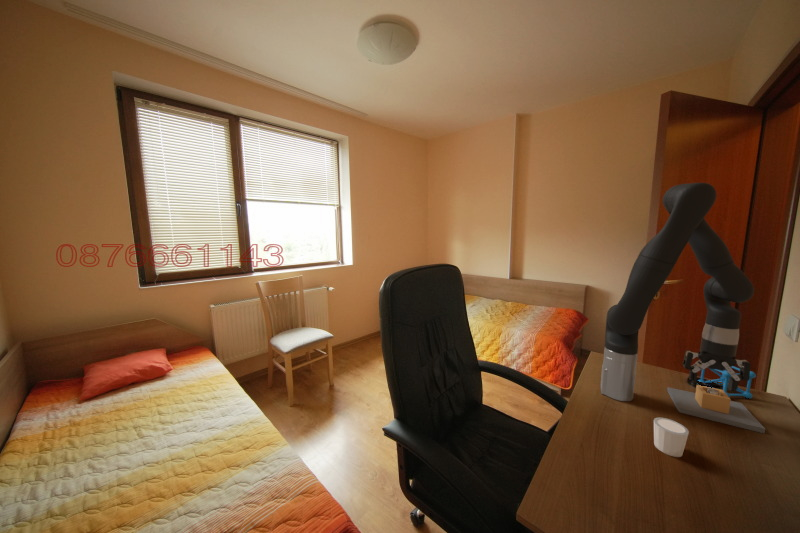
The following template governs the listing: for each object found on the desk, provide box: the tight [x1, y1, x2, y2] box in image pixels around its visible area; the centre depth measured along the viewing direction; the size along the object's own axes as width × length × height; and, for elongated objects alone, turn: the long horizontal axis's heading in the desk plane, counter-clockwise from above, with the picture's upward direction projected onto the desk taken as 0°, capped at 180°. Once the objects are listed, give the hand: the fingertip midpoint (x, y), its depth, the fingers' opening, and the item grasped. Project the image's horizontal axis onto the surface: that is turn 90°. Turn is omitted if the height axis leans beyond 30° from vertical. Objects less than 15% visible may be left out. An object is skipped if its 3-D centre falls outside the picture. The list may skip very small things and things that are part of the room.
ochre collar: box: [695, 384, 732, 414], centre depth 90 cm, size 6×6×5 cm
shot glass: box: [653, 417, 690, 458], centre depth 74 cm, size 7×7×7 cm
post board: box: [666, 386, 766, 434], centre depth 90 cm, size 18×14×2 cm
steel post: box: [707, 388, 719, 395], centre depth 90 cm, size 2×2×6 cm
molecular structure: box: [697, 365, 757, 399], centre depth 99 cm, size 10×10×10 cm
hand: (711, 385), depth 90 cm, fingers open, 8 cm apart
